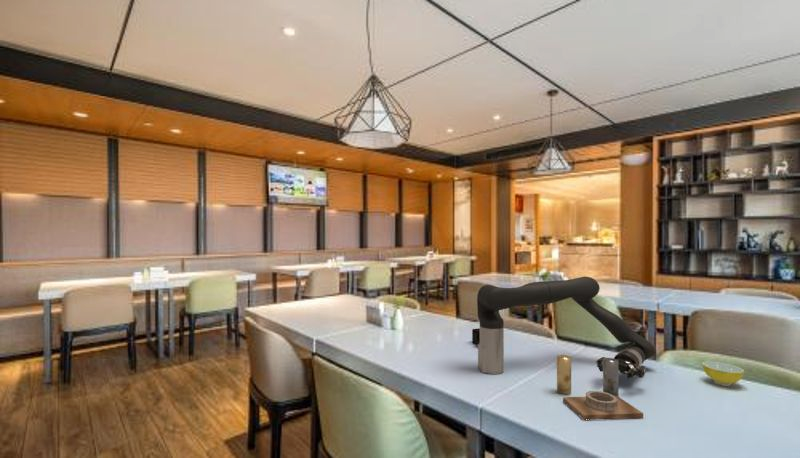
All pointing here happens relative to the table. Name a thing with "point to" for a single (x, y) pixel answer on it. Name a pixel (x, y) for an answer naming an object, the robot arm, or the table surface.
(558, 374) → the brass peg
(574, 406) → the socket board
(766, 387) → the table surface
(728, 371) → the bowl
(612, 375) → the steel peg
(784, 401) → the table surface
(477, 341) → the digital camera
